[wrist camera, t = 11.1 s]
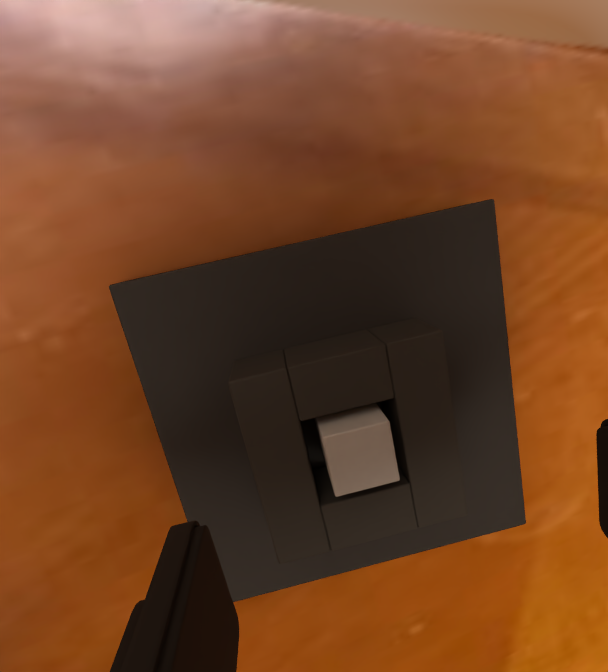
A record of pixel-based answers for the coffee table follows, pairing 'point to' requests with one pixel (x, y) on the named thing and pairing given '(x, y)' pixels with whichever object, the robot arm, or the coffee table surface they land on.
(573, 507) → the coffee table surface
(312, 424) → the base pad
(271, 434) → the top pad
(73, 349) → the coffee table surface
